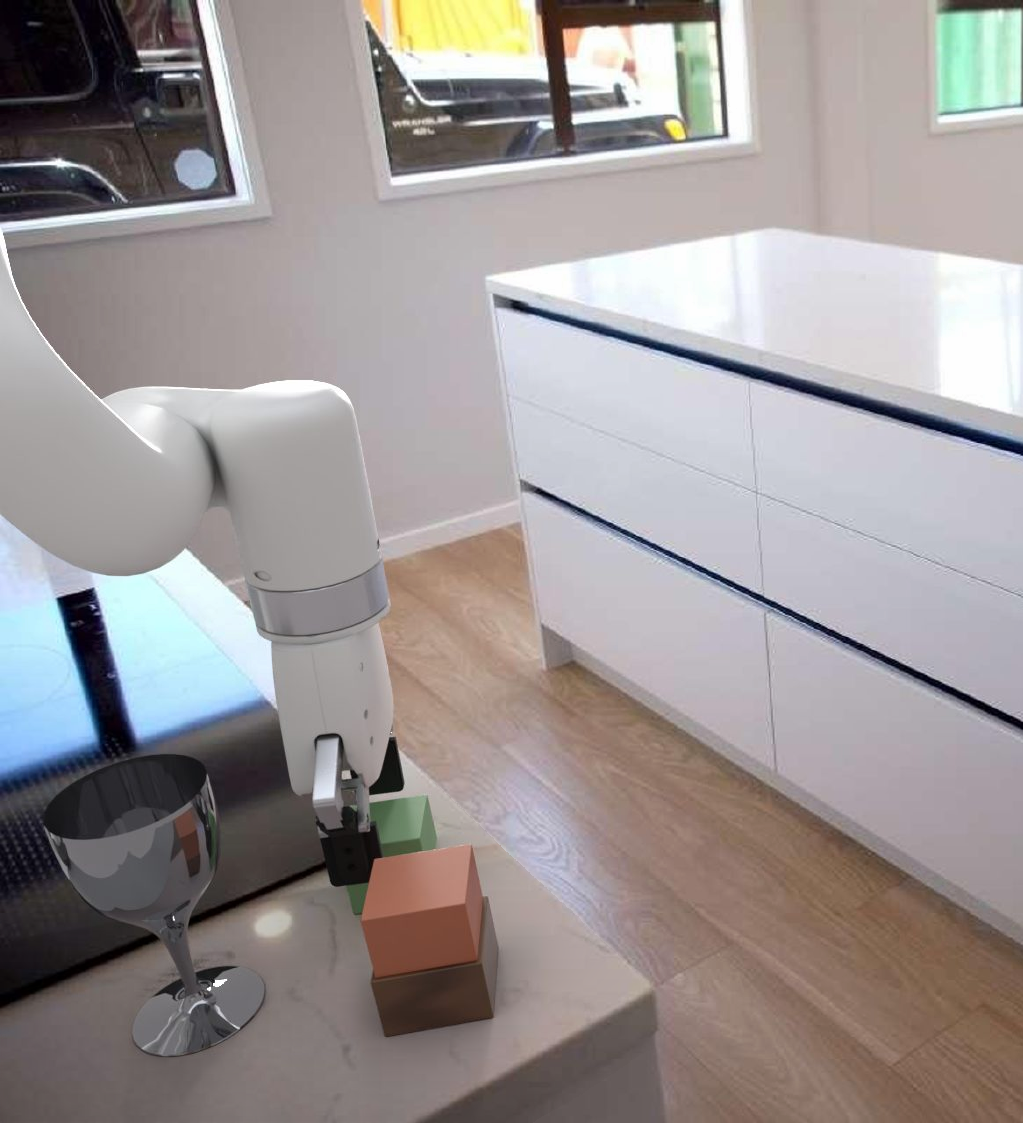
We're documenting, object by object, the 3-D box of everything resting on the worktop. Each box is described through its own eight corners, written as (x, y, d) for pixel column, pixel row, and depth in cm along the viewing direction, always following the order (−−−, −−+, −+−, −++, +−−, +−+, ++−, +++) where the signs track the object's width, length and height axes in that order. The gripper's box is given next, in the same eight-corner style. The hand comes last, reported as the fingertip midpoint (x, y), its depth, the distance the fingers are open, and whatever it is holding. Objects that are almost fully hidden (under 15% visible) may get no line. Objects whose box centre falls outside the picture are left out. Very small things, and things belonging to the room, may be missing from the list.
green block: (353, 915, 81) (336, 851, 79) (364, 867, 86) (349, 805, 84) (434, 902, 82) (419, 838, 80) (441, 855, 87) (427, 793, 84)
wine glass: (301, 988, 75) (238, 775, 69) (179, 1082, 69) (98, 857, 63) (217, 946, 79) (151, 740, 73) (94, 1031, 73) (10, 814, 67)
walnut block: (384, 1037, 71) (369, 982, 70) (397, 964, 77) (383, 912, 75) (493, 1018, 72) (481, 963, 71) (498, 947, 78) (487, 894, 76)
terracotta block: (375, 978, 70) (360, 920, 68) (387, 914, 75) (373, 858, 73) (477, 960, 71) (465, 903, 69) (483, 898, 76) (471, 843, 74)
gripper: (282, 544, 82) (331, 769, 89) (216, 670, 67) (282, 931, 74) (403, 532, 83) (442, 755, 90) (366, 654, 68) (417, 912, 75)
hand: (370, 834), depth 82 cm, fingers open, 9 cm apart
